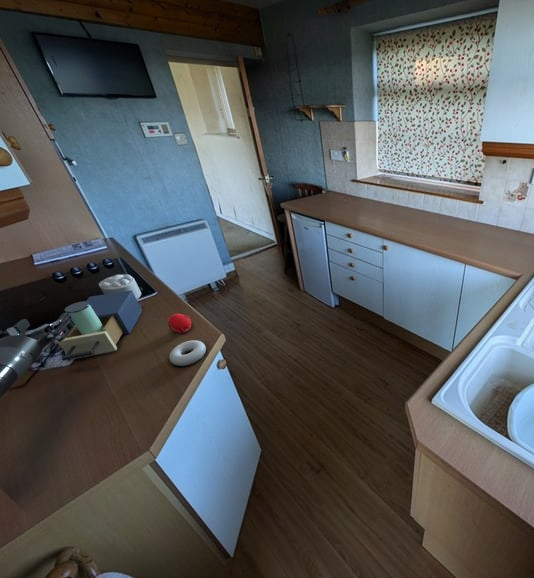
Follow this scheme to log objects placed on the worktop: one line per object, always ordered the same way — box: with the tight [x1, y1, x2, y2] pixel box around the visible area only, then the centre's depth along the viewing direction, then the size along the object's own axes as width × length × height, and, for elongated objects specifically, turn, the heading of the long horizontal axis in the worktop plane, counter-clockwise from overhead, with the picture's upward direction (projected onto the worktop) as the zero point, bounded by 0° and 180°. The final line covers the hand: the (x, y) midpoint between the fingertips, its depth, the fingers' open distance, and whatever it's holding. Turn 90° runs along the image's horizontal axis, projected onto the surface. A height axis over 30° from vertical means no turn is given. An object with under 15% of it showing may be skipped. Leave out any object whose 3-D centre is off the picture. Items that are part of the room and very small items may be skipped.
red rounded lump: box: [167, 313, 192, 334], centre depth 104 cm, size 8×6×6 cm
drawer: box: [56, 315, 124, 361], centre depth 94 cm, size 19×12×7 cm, turn 21°
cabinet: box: [71, 291, 143, 336], centre depth 104 cm, size 15×13×9 cm
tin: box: [64, 300, 104, 335], centre depth 93 cm, size 6×6×14 cm
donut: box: [169, 339, 207, 367], centre depth 93 cm, size 10×4×10 cm
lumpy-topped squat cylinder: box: [98, 273, 142, 300], centre depth 120 cm, size 10×13×9 cm
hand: (47, 318), depth 78 cm, fingers open, 8 cm apart
